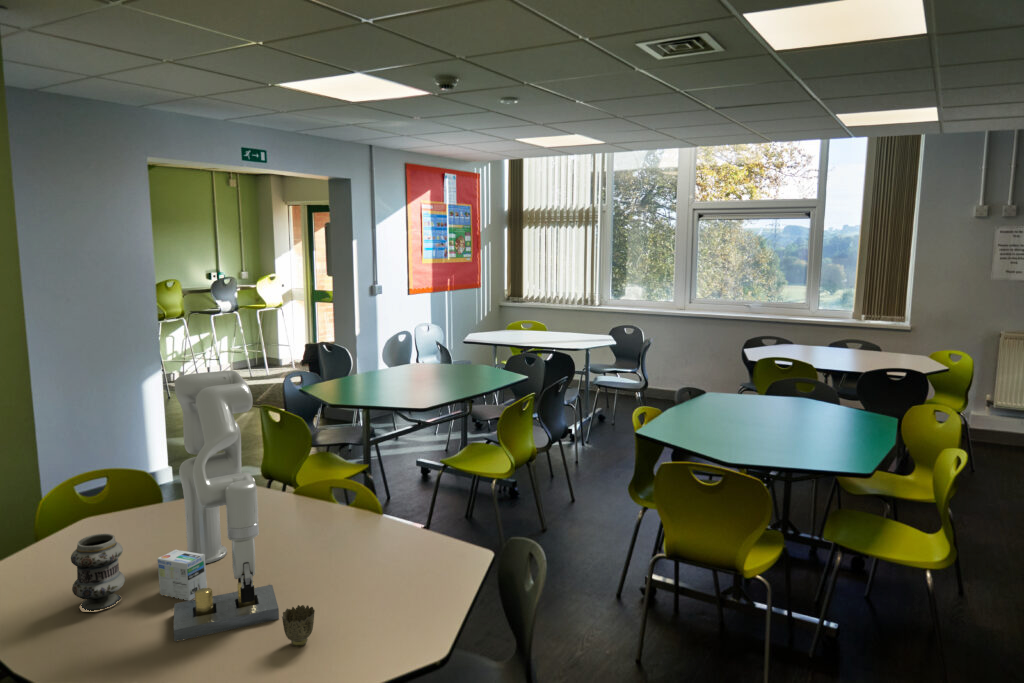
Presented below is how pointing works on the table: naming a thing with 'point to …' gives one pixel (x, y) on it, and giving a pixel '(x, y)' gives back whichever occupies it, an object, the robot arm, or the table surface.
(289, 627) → the cup
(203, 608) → the seated bushing
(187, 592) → the light bulb box
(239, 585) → the brass cylinder
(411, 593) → the table surface
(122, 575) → the apothecary jar
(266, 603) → the jig
